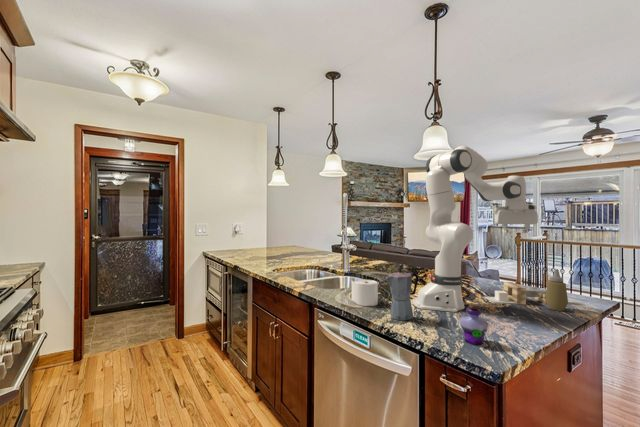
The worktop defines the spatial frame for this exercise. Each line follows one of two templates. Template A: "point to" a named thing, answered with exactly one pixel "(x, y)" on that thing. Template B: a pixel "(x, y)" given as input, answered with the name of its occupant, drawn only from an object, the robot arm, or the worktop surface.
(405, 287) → the moka pot
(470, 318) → the potion bottle
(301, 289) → the worktop surface
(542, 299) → the rear saddle
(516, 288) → the bearing block
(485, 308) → the worktop surface
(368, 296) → the toilet tissue
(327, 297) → the worktop surface
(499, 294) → the block
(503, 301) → the mat
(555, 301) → the squeeze bottle
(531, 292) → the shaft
